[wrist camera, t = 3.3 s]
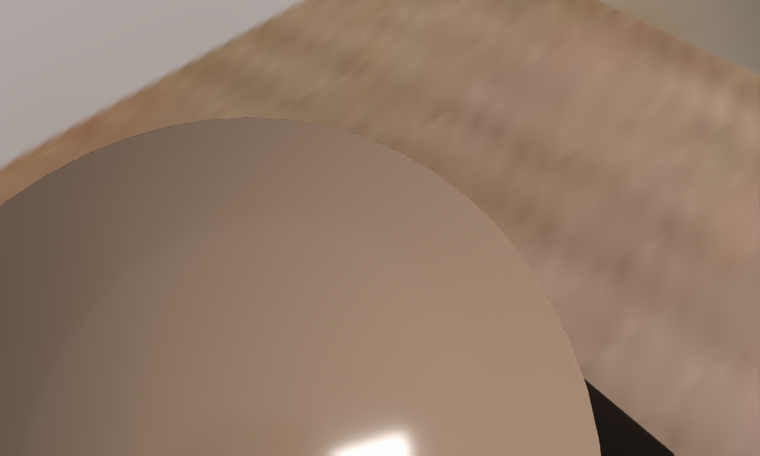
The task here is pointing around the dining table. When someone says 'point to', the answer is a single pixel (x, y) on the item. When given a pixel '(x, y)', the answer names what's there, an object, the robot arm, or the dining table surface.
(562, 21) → the dining table surface
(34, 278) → the teal jar
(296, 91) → the dining table surface
